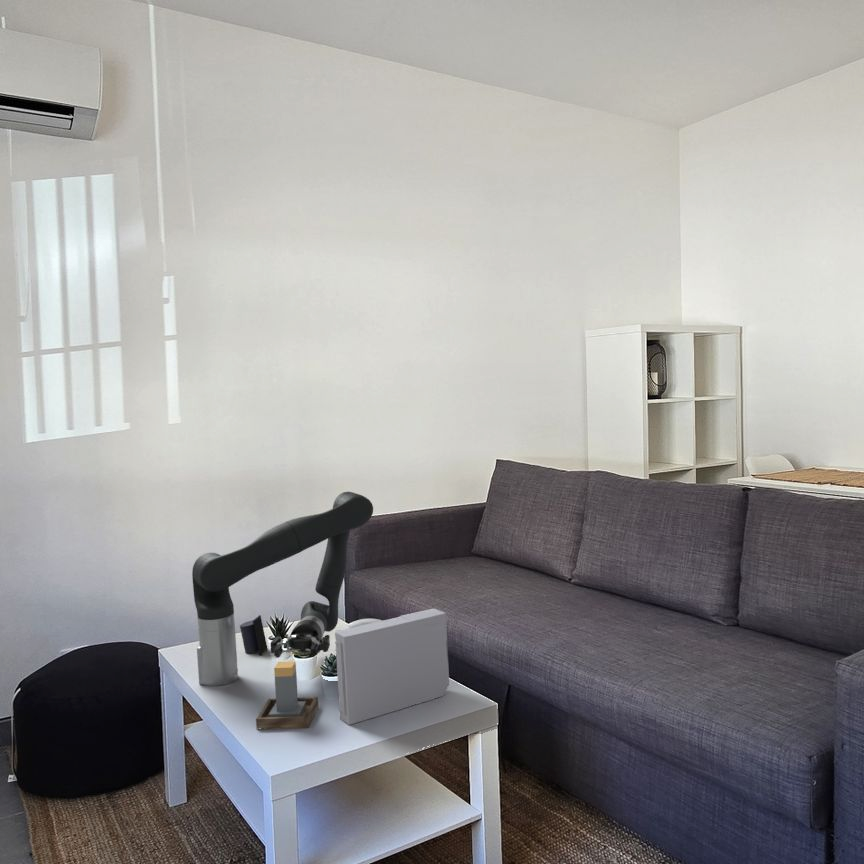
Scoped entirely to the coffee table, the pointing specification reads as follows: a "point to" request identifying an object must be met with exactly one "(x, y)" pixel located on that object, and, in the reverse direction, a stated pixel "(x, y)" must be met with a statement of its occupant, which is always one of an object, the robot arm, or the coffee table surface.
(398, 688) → the game console
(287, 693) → the plug
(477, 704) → the coffee table surface
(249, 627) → the speaker
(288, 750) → the coffee table surface
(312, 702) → the tray
